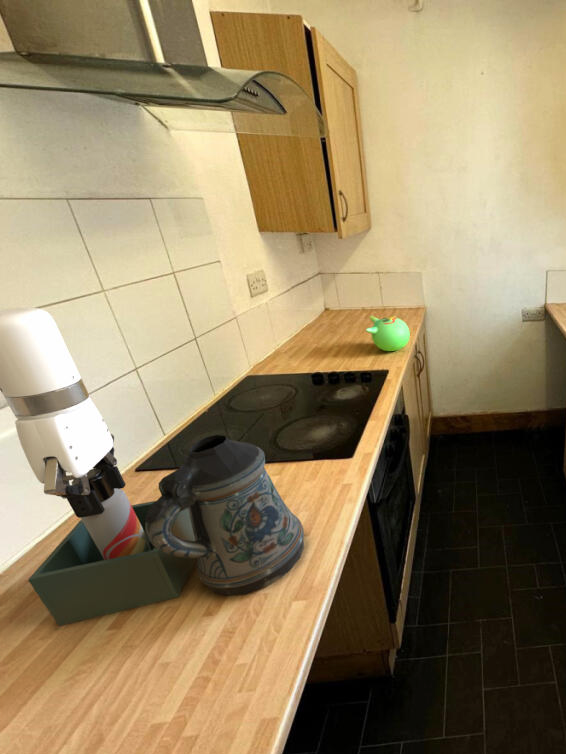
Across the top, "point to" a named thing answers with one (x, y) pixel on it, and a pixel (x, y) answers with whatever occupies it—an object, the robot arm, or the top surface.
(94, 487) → the lotion bottle
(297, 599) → the top surface
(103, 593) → the bin
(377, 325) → the green space hopper
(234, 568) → the beer stein
